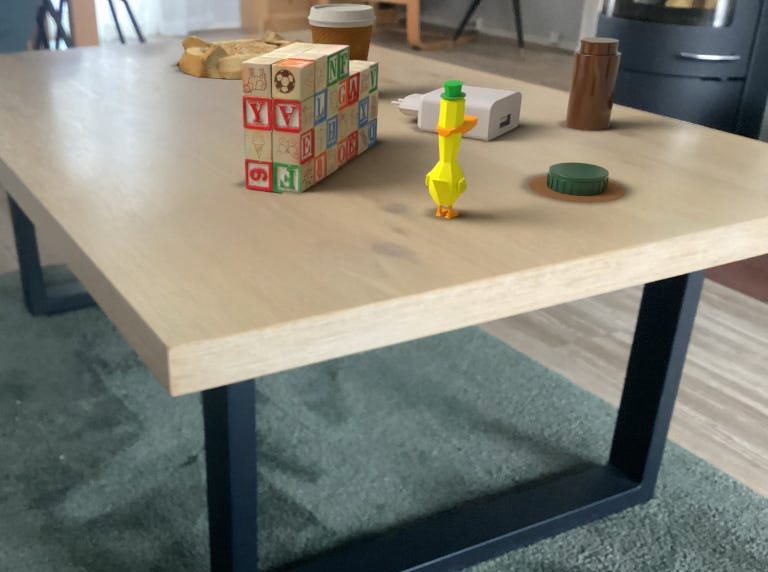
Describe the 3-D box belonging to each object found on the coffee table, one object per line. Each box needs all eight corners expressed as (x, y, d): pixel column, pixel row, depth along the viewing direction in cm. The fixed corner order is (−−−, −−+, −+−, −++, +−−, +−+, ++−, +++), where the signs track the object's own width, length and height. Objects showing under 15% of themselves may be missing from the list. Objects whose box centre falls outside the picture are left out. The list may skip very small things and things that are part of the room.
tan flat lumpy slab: (323, 56, 156) (323, 26, 153) (305, 81, 135) (305, 47, 133) (195, 53, 159) (193, 24, 157) (158, 77, 138) (156, 45, 136)
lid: (537, 180, 86) (539, 163, 86) (590, 177, 87) (593, 160, 86) (561, 197, 82) (563, 179, 81) (617, 194, 82) (620, 177, 81)
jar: (609, 125, 108) (624, 37, 103) (607, 135, 104) (623, 44, 99) (566, 122, 110) (578, 35, 105) (563, 131, 105) (575, 42, 100)
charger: (411, 113, 115) (518, 129, 107) (375, 127, 108) (487, 144, 100) (413, 77, 112) (523, 89, 105) (377, 88, 106) (491, 103, 98)
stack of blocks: (327, 139, 103) (329, 29, 97) (377, 144, 101) (382, 32, 95) (244, 188, 86) (240, 59, 80) (301, 196, 84) (301, 64, 78)
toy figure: (448, 204, 81) (459, 72, 75) (482, 211, 79) (496, 76, 74) (411, 223, 77) (420, 84, 71) (447, 232, 75) (459, 89, 69)
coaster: (626, 183, 87) (627, 179, 86) (621, 210, 79) (622, 206, 79) (534, 174, 90) (535, 170, 89) (521, 200, 82) (522, 196, 82)
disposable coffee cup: (300, 101, 122) (300, 10, 116) (315, 88, 130) (315, 2, 124) (367, 104, 120) (371, 12, 114) (377, 91, 128) (381, 4, 122)
